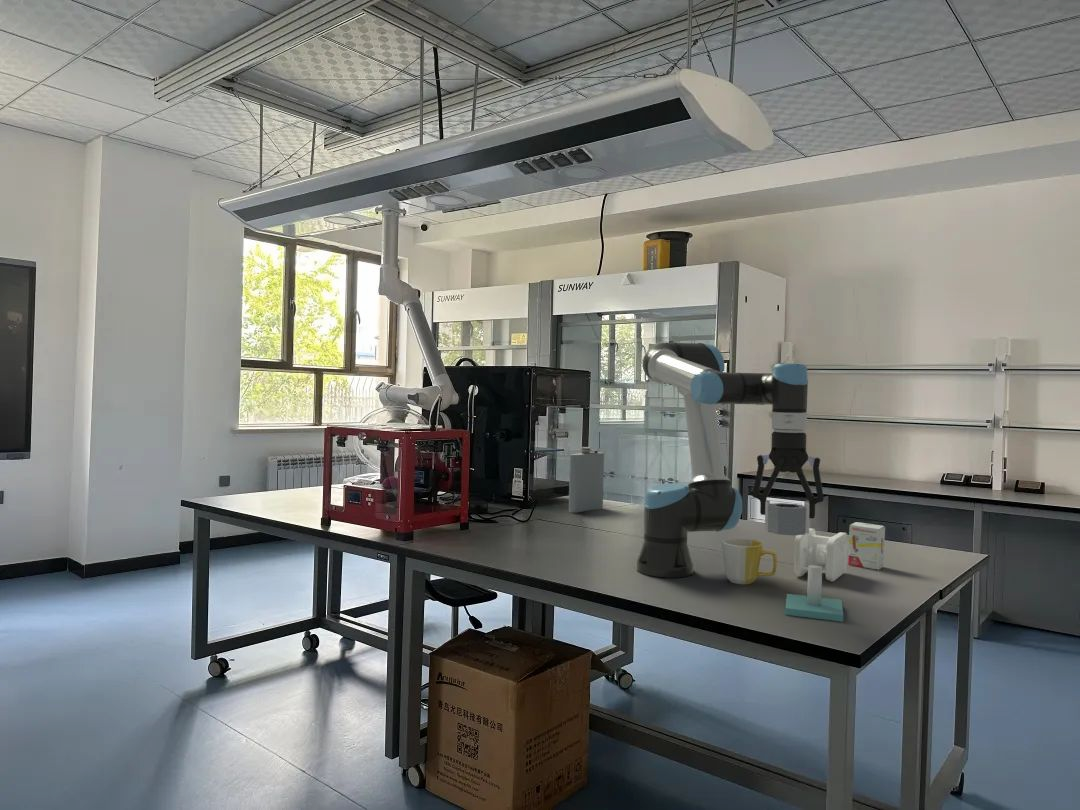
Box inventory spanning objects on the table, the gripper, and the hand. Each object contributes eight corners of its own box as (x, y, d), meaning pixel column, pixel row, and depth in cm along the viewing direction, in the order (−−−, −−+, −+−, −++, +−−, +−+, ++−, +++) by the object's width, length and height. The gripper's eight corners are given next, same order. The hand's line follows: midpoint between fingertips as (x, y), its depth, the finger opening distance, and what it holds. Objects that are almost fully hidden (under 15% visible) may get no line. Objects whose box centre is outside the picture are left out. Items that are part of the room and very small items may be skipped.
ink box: (847, 564, 213) (848, 523, 213) (852, 561, 217) (854, 521, 216) (878, 570, 207) (880, 528, 207) (884, 567, 211) (885, 525, 211)
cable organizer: (809, 567, 209) (810, 526, 209) (848, 573, 203) (850, 531, 203) (792, 578, 197) (794, 534, 197) (834, 585, 191) (835, 540, 191)
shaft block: (785, 614, 166) (786, 570, 165) (786, 600, 177) (788, 558, 176) (843, 621, 161) (844, 576, 161) (841, 606, 173) (842, 563, 172)
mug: (714, 582, 191) (716, 542, 191) (728, 574, 200) (729, 535, 199) (768, 592, 183) (769, 549, 183) (779, 583, 192) (781, 542, 192)
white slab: (596, 506, 302) (597, 445, 302) (604, 508, 299) (605, 446, 298) (565, 511, 291) (566, 447, 290) (573, 513, 287) (575, 448, 287)
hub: (766, 533, 167) (767, 506, 167) (770, 527, 175) (770, 502, 175) (804, 536, 164) (805, 509, 164) (806, 530, 172) (806, 504, 172)
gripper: (739, 430, 170) (737, 529, 170) (838, 433, 162) (836, 537, 162) (743, 429, 177) (742, 524, 177) (838, 432, 169) (836, 531, 169)
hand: (786, 530), depth 170 cm, fingers closed on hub, 8 cm apart
